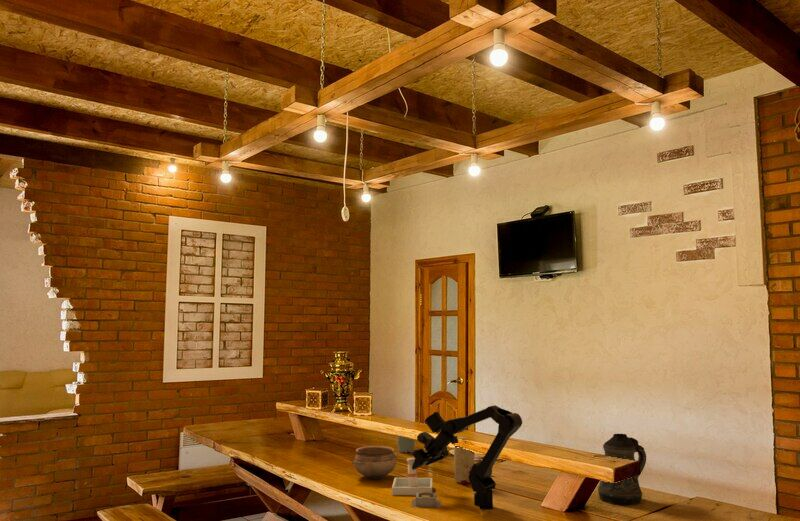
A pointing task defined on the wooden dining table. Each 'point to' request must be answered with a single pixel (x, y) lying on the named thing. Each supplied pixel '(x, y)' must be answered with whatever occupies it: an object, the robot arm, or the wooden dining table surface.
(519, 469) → the wooden dining table surface
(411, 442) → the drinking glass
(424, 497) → the fuse block
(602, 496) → the black jug
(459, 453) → the food model
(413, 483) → the fuse
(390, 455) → the cooking pot
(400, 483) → the tray
